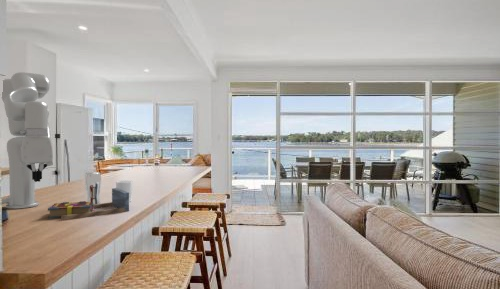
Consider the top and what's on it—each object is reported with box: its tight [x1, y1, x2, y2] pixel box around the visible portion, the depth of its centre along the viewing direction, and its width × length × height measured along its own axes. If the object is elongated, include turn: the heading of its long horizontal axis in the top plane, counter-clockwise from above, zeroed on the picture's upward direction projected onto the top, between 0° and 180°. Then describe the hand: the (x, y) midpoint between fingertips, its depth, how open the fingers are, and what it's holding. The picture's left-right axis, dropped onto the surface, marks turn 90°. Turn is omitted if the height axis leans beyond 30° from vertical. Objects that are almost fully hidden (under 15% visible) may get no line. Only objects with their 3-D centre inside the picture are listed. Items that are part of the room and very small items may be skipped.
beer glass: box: [84, 171, 102, 205], centre depth 158 cm, size 7×7×15 cm
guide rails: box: [60, 187, 130, 221], centre depth 143 cm, size 26×16×8 cm, turn 131°
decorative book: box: [47, 200, 95, 220], centre depth 138 cm, size 11×16×5 cm
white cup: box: [115, 180, 134, 203], centre depth 166 cm, size 8×8×10 cm
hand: (37, 181), depth 129 cm, fingers closed
